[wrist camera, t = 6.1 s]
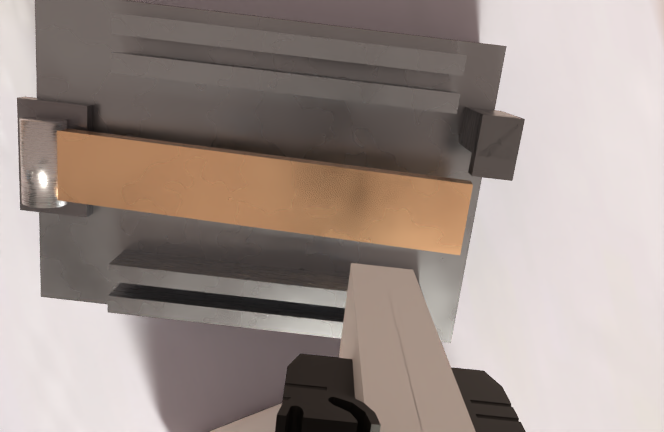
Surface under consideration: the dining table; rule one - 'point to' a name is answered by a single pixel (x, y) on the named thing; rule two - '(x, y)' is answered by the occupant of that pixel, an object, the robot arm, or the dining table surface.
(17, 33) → the dining table surface
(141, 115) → the grey stepped block
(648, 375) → the dining table surface
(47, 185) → the strap
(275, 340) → the dining table surface
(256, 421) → the cable organizer
